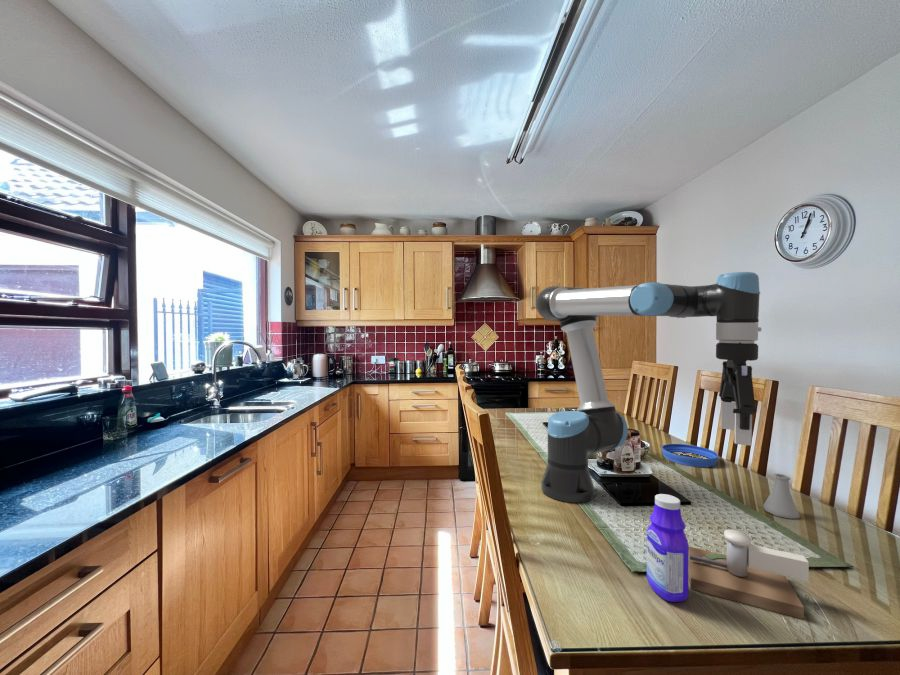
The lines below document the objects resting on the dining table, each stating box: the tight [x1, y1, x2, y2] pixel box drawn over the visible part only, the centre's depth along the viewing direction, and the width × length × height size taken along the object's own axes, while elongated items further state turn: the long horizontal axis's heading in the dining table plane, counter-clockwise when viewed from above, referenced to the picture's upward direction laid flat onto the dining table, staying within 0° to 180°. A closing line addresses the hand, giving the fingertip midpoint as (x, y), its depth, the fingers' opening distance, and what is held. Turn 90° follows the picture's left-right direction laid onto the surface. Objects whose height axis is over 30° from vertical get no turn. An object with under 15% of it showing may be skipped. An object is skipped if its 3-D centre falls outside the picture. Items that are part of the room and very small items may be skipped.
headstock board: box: [688, 546, 805, 620], centre depth 71 cm, size 16×12×2 cm
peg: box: [689, 529, 810, 582], centre depth 71 cm, size 18×4×7 cm, turn 63°
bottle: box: [646, 493, 690, 603], centre depth 69 cm, size 7×6×17 cm
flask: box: [762, 473, 801, 520], centre depth 99 cm, size 7×7×10 cm
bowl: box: [661, 443, 719, 468], centre depth 141 cm, size 18×18×4 cm
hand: (734, 436), depth 84 cm, fingers open, 13 cm apart
